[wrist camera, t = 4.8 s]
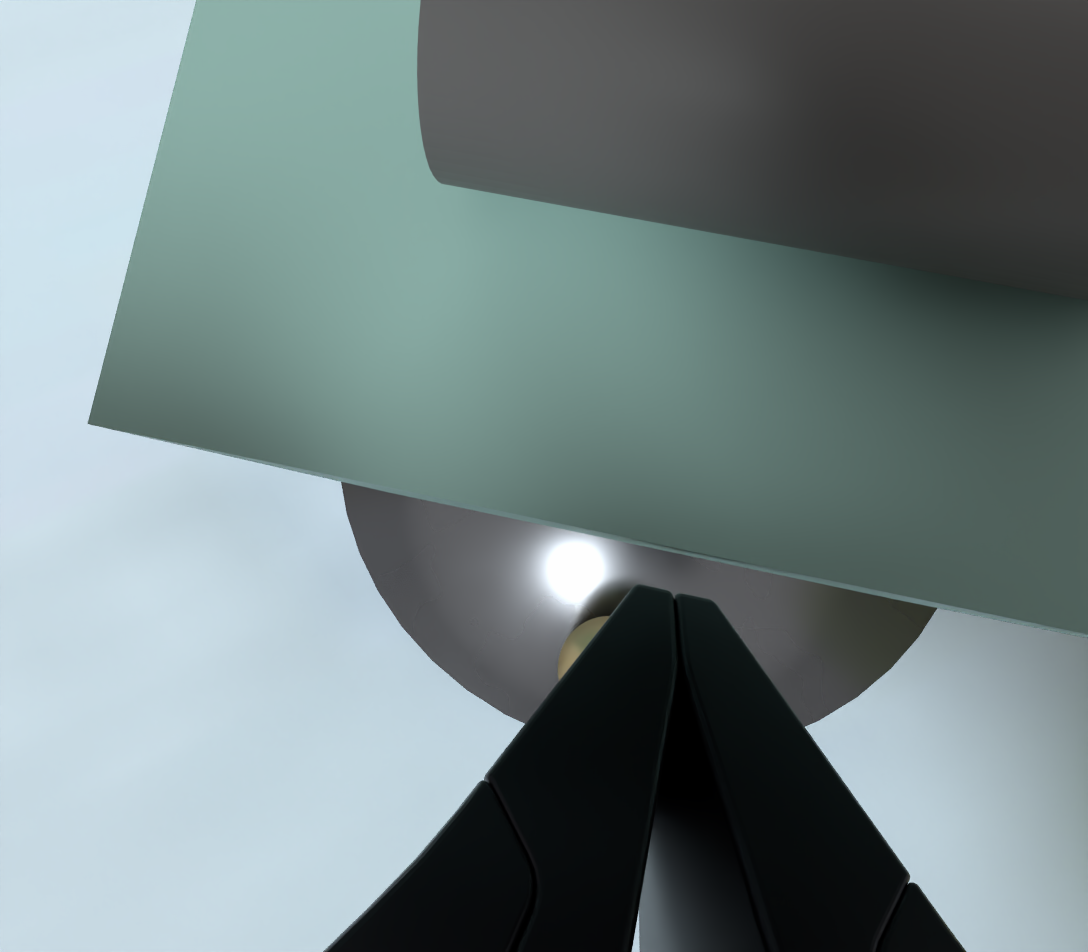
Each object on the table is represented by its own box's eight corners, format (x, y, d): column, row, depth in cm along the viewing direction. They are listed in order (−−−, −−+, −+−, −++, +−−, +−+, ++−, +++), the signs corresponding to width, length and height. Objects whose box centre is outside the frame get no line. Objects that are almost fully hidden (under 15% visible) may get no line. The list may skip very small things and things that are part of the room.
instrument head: (893, 598, 14) (1897, 802, 3) (388, 492, 15) (-134, 372, 4) (963, 200, 15) (2018, -733, 4) (473, 115, 15) (215, -878, 5)
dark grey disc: (906, 814, 16) (979, 839, 13) (286, 671, 17) (237, 667, 14) (947, 258, 20) (1009, 189, 17) (440, 167, 21) (424, 88, 18)
